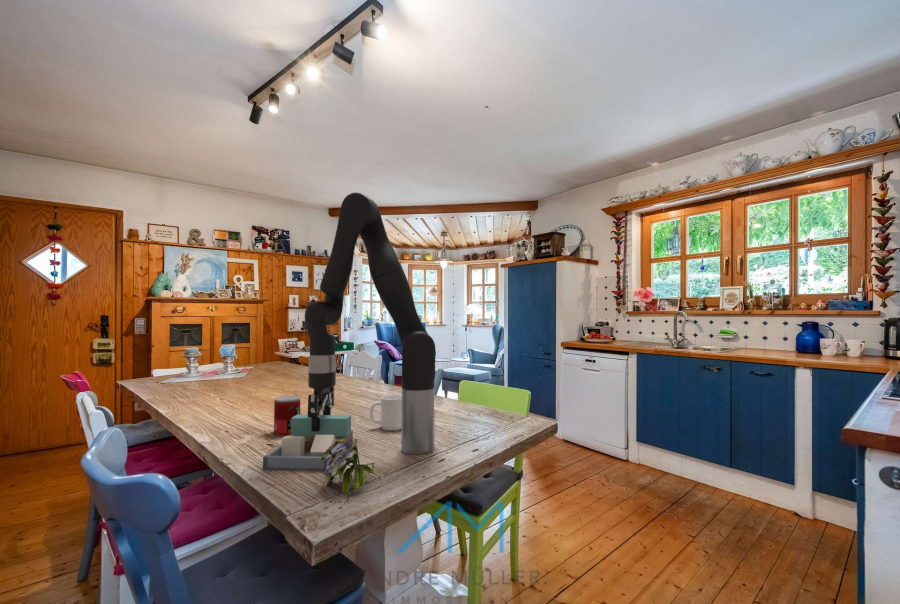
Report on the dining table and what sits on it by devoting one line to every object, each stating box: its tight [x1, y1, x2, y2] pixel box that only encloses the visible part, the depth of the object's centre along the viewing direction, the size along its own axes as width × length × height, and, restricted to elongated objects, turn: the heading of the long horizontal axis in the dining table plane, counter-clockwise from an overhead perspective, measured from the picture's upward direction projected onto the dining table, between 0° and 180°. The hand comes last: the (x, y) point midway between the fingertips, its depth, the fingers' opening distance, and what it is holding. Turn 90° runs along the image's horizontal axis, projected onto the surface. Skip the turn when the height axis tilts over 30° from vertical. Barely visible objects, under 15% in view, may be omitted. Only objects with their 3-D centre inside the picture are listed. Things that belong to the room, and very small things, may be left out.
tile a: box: [310, 435, 336, 457], centre depth 101 cm, size 5×5×2 cm
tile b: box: [281, 435, 305, 456], centre depth 101 cm, size 5×5×2 cm
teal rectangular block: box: [290, 414, 352, 437], centre depth 110 cm, size 16×4×5 cm, turn 88°
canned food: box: [273, 395, 301, 437], centre depth 123 cm, size 8×8×11 cm
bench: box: [304, 429, 354, 452], centre depth 109 cm, size 16×10×4 cm, turn 88°
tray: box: [262, 443, 342, 472], centre depth 98 cm, size 16×11×3 cm
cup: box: [369, 394, 402, 431], centre depth 129 cm, size 8×12×10 cm
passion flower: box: [321, 438, 376, 497], centre depth 85 cm, size 11×11×12 cm
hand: (321, 426), depth 110 cm, fingers open, 8 cm apart
